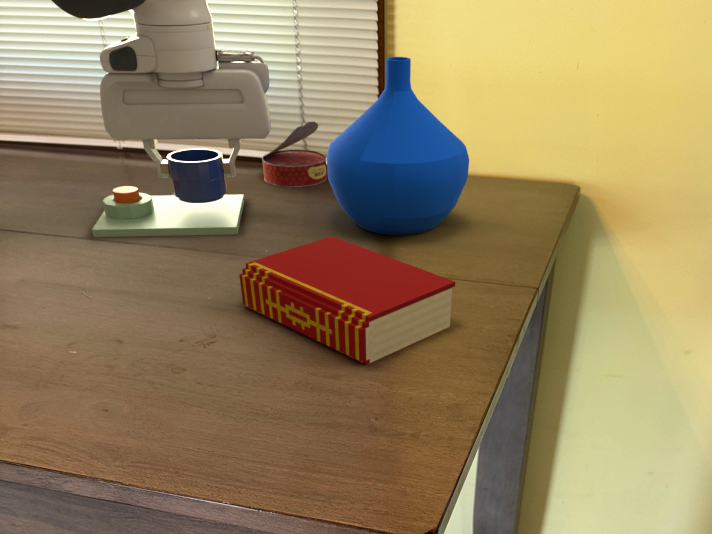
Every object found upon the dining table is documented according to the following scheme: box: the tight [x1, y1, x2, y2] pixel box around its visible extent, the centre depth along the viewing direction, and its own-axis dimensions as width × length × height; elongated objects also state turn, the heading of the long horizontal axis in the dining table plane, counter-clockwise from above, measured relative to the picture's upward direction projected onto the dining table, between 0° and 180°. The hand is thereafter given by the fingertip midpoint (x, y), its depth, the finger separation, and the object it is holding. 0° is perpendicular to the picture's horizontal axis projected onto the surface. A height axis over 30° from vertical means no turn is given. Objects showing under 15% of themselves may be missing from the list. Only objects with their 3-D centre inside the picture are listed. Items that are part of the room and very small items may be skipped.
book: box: [238, 235, 456, 366], centre depth 77 cm, size 18×13×5 cm
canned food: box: [261, 121, 328, 188], centre depth 116 cm, size 11×10×10 cm
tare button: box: [112, 185, 140, 204], centre depth 99 cm, size 3×3×2 cm
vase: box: [325, 56, 470, 236], centre depth 96 cm, size 18×18×19 cm
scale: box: [91, 192, 245, 238], centre depth 101 cm, size 18×14×3 cm
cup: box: [166, 148, 228, 203], centre depth 98 cm, size 7×7×5 cm
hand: (197, 176), depth 98 cm, fingers closed on cup, 7 cm apart
